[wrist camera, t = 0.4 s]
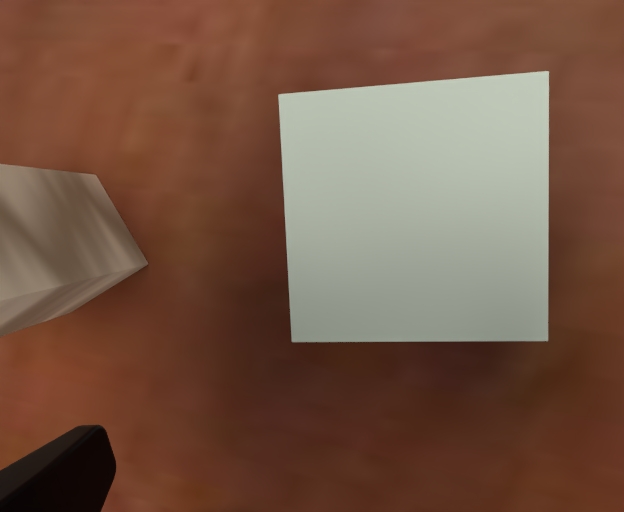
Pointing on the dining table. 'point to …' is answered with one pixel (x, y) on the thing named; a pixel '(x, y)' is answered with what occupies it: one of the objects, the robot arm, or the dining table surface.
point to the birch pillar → (57, 244)
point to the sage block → (418, 210)
